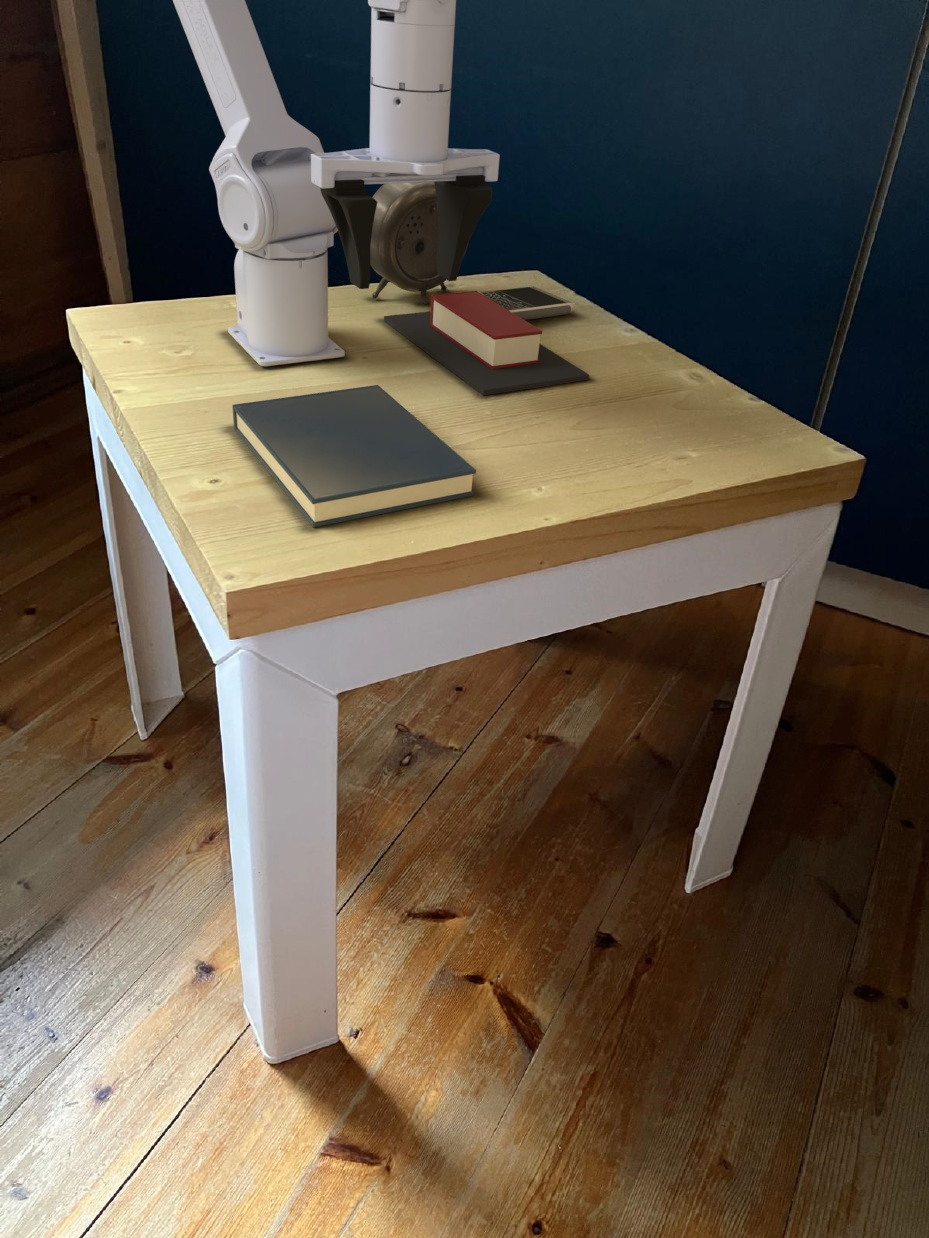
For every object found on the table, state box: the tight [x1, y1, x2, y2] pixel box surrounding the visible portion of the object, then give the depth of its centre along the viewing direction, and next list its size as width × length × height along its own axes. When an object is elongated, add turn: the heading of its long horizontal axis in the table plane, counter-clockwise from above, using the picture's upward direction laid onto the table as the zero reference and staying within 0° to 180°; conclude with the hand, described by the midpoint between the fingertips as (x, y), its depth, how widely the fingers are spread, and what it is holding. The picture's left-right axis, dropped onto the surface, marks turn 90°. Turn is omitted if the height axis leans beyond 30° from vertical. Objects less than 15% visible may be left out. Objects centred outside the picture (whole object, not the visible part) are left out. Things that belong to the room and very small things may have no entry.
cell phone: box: [478, 286, 576, 321], centre depth 101 cm, size 6×11×1 cm, turn 130°
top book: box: [430, 290, 543, 369], centre depth 92 cm, size 12×5×3 cm, turn 29°
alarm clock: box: [370, 182, 470, 304], centre depth 99 cm, size 11×5×16 cm, turn 123°
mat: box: [383, 310, 590, 396], centre depth 93 cm, size 20×11×1 cm, turn 29°
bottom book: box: [231, 384, 477, 528], centre depth 71 cm, size 16×12×2 cm
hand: (404, 281), depth 77 cm, fingers open, 7 cm apart
